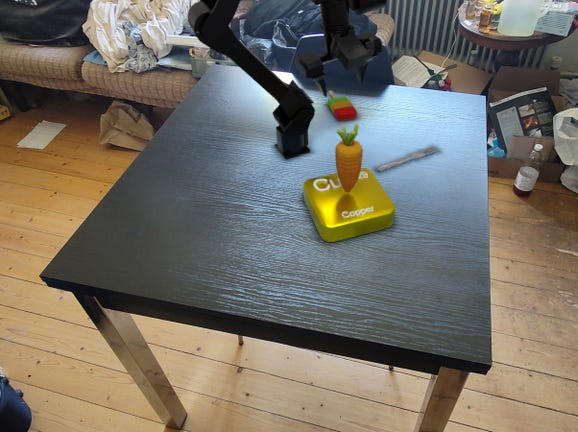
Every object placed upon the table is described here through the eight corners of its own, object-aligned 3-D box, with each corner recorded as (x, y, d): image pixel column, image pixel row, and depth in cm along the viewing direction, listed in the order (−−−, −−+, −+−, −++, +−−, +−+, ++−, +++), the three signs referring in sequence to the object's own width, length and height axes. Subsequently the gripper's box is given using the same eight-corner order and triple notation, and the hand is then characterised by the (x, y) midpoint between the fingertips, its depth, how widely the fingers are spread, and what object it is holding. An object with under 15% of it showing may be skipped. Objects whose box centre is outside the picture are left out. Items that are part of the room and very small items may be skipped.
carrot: (333, 199, 85) (333, 132, 74) (336, 183, 88) (337, 117, 78) (359, 201, 84) (362, 134, 74) (361, 185, 88) (365, 119, 77)
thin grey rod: (380, 172, 99) (380, 171, 98) (375, 168, 100) (375, 167, 100) (437, 151, 105) (438, 150, 105) (432, 147, 106) (433, 146, 106)
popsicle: (338, 121, 114) (338, 115, 113) (320, 95, 124) (320, 89, 123) (358, 118, 116) (358, 112, 114) (339, 92, 126) (339, 86, 125)
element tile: (323, 245, 82) (323, 227, 79) (301, 196, 93) (300, 178, 89) (396, 227, 86) (399, 208, 83) (367, 181, 96) (368, 163, 93)
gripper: (313, 48, 81) (323, 120, 93) (397, 19, 86) (397, 90, 98) (288, 29, 89) (300, 97, 100) (367, 3, 94) (370, 71, 105)
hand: (342, 89), depth 100 cm, fingers open, 9 cm apart
